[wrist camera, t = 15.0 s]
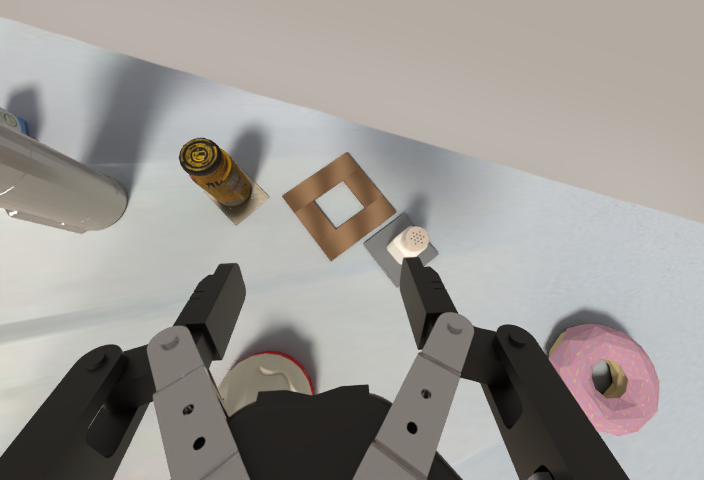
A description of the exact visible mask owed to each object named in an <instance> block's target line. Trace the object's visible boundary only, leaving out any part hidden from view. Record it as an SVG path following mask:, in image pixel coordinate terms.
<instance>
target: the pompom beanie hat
mask: <svg viewBox="0 0 704 480" xmlns="http://www.w3.org/2000/svg"><path fill="white" fill-rule="evenodd" d="M218 390H219V392H220V395H221V397H222V399H223V402H224V404H225V406H226V408H227V410H228V412H229V415H230V416H231V415H232V414H233V413H235V412H236V411H237V410H239V409H240V408H242V407H244V406H246V405H248V404H250V403H252V402H254V401H256V399H257V395H258V392H259V391H275V390H289V391H294V392H298V393H303V394H308V395H313V388H312V384H311V381H310V377H309V376H308V374H307V373H306V371H305V369H304V368H303V366H302V365H301V364H299V363H298V362H297V361H296V360H295V359H294V358H292V357H290V356H288V355H285V354H283V353H280V352H271V351H267V352H262V353H257V354H254V355H252V356H250V357H248V358H246V359H244V360H242V361H241V362H239V363H238V364H237V365H236V366H235V367H234V368H233V369H232V370H231V371H229V372H228V373H227V374H226V376H225V377H224V379H223V380H222V382H221V383H220V385H219V387H218Z"/></svg>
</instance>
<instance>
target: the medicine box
mask: <svg viewBox="0 0 704 480" xmlns="http://www.w3.org/2000/svg"><path fill="white" fill-rule="evenodd" d="M0 122H1V123H3V124H5V125H7V126H9V127H11V128H13V129H15V130H17V131H19V132H21V133H23V134H25V135H27V129H26V123H25V121H24V120H22V119H21V118H19V117H17V116H15V115H13V114H12V113H10V112H8V111H6V110H4V109H3V108H1V107H0ZM27 136H28V135H27Z"/></svg>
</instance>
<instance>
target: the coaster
mask: <svg viewBox="0 0 704 480" xmlns="http://www.w3.org/2000/svg"><path fill="white" fill-rule="evenodd" d="M410 226H412V227H414V226H415V225H414V224H413V223H412V222H411V220H410V219H409V218H408V217H407V216H406V214H405V213H404V214H403V215H401V216H400V217H399V218H397V219H396V220H395V221H393V222H392V223H391V224H389V225H388V226H387V227H385V228H384V229H383V230H381V231H380V232H379V233H377V234H376V235H375V236H373V237H372V238H371V239H369V240H368V241H367V242H365V243H364V244H363V245H364V246H365V248H366V249H367V250H368V252H369V253H370V254H371V255H372V257H373V258H374V259H375V260H376V262H377V263H378V264H379V266H380V267H381V268H382V269H383V271H384V272H385V273H386V275H387V276H388V277H389V278H390V280H391V281H392V282H393V284H394V285H395V286H396V287H399V286H400V275H401V268H402V265H401V264H399V263H398V262H397V261H396V260H395V259H394V257H393V256H392V255H391V254H390V253H389V251H388V250H387V246H388V244H389V243H390V242H391V241H392V240H393V239H394V238H395V237H397V236H398V235H399V234H400V233H401V232H403V231H404V230H405V229H406V228H408V227H410ZM437 255H438V253H437V252H436V251H435V249H434V248H433V247H432V246H431V245H430V243H428V244H427V248H426V249H425V250H423V251H422V252H421V253H420V254H419V255H417V256H416V257H419V258H420V259H421V262H422V264H423V266H425V265H426V264H427V263H428V262H430V261H431V260H432V259H433V258H435V257H436V256H437Z"/></svg>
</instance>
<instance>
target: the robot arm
mask: <svg viewBox="0 0 704 480" xmlns="http://www.w3.org/2000/svg"><path fill="white" fill-rule="evenodd" d="M126 204H127V196H126V192H125V190H124V188H123V187H122V186H121V184H119V183H118V182H117V181H115V180H113V179H111V178H109V177H108V176H106V175H103V174H101V173H99V172H97V171H95V170H94V169H92V168H90V167H88V166H86V165H84V164H82V163H80V162H78V161H76V160H74V159H72V158H70V157H68V156H66V155H64V154H62V153H60V152H58V151H56V150H54V149H52V148H50V147H48V146H46V145H44V144H43V143H41V142H39V141H37V140H35V139H33V138H31V137H29V136H27V135H25V134H23V133H21V132H19V131H17V130H15V129H13V128H11V127H9V126H7V125H5V124H3V123H1V122H0V208H4V209H5V210H6V212H7V214H8V215H9V216H11V217H13V218H17V219H21V220H25V221H29V222H34V223H38V224H42V225H46V226H50V227H55V228H59V229H63V230H67V231H72V232H76V233H80V234H81V233H83V232H85V231H88V230H100V229H104V228H106V227H109V226H110V225H112V224H114V223H115V222H116V221H117V220H118V219H119V218H120V217H121V215H122V214H123V212H124V210H125V208H126ZM400 292H401V295H402V299H403V302H404V305H405V309H406V312H407V315H408V318H409V322H410V325H411V328H412V332H413V335H414V338H415V342H416V345H417V348H418V350H422V352H421V353H420V352H419V353H418V355H417V357H416V359H415V361H414V362H413V364H412V366H411V368H410V370H409V372H408V374H407V376H406V378H405V380H404V382H403V384H402V386H401V388H400V390H399V392H398V394H397V396H396V398H395V400H394V402H393V403H391V402H390V401H388V400H387V399H385V398H383V397H381V396H378V395H375V394H372V393H369V386H368V385H354V386H341V387H338V388H335V389H332V390H329V391H326V392H323V393H320V394H317V395H308V394H303V393H298V392H294V391H289V390H275V391H259V392H258V395H257V399H256V401H254V402H252V403H250V404H248V405H246V406H244V407H242V408H240V409H239V410H237V411H236V412H235V413H233V414H232V415H231V416H230V415H229V412H228V410H227V408H226V406H225V404H224V402H223V399H222V397H221V395H220V392H219V390H218V388H217V386H216V383H215V381H214V379H213V376H212V374H211V372H210V370H209V367H210V364H211V362H212V361H215V360H222V359H223V357H224V354H225V351H226V348H227V346H228V343H229V340H230V338H231V335H232V332H233V330H234V327H235V324H236V322H237V319H238V316H239V314H240V311H241V308H242V305H243V303H244V300H245V296H246V289H245V284H244V281H243V278H242V274H241V271H240V268H239V265H238V264H237V263H228V264H219V266H218V267H217V269H216V271H215V273H214V274H213V275H208V276H207V277H205V278H204V279H203V280H202V281H201V282H199V284H198V286H197V287H196V289H195V290H194V293H193V294H192V295H191V297H190V300H188V302H187V304H186V305H185V307H184V308H183V310H182V312H181V313H180V315H179V317H178V318H177V320H176V322H175V323H174V325H173V326H172V327H169V328H167V329H164V330H163V331H161V332H159V333H158V334H157V335H155V336H154V337H153V338H152V339H151V341H150V342H149V344H147V345H144V346H141V347H138V348H134V349H131V350H128V351H124V352H123V351H122V349H121V348H120V347H119V346H117V345H113V344H110V345H104V346H101V347H98V348H96V349H93V350H92V351H90V352H88V353H87V354H85V355H84V356H82V357H81V358H80V359H79V360H78V361H77V362H76V363H75V364H74V365H73V367H72V368H71V369H70V370H69V372H68V373H67V374H66V375H65V377H64V378H63V379H62V380H61V382H60V383H59V384H58V386H57V387H56V388H55V389H54V391H53V392H52V393H51V394H50V396H49V397H48V398H47V399H46V401H45V402H44V403H43V404H42V406H41V407H40V408H39V409H38V411H37V412H36V413H35V414H34V416H33V417H32V418H31V419H30V421H29V422H28V423H27V424H26V426H25V427H24V428H23V429H22V431H21V432H20V433H19V435H18V436H17V437H16V438H15V440H14V441H13V442H12V443H11V445H10V446H9V447H8V448H7V450H6V451H5V452H4V453H3V455H2V456H1V457H0V480H113V478H114V476H115V474H116V472H117V470H118V468H119V465H120V463H121V461H122V459H123V457H124V455H125V453H126V451H127V449H128V447H129V445H130V443H131V441H132V438H133V436H134V434H135V432H136V430H137V428H138V426H139V424H140V422H141V420H142V418H143V416H144V414H145V411H146V409H147V407H148V405H149V403H150V402H153V401H154V406H155V410H156V414H157V419H158V423H159V428H160V432H161V436H162V441H163V445H164V450H165V454H166V458H167V463H168V467H169V471H170V476H171V480H463V479H462V478H461V477H460V476H459V475H458V474H457V473H456V472H455V471H454V469H453V468H452V467H451V466H450V465H449V464H448V463H447V462H446V461H445V459H444V458H443V457H442V456H441V455H440V454H439V453H438V452H437V451H436V449H437V446H438V443H439V440H440V437H441V434H442V431H443V428H444V425H445V422H446V419H447V416H448V413H449V410H450V407H451V404H452V401H453V398H454V395H455V391H456V388H457V385H458V382H459V379H460V378H464V379H468V380H472V381H476V382H479V383H480V384H481V386H482V389H483V391H484V393H485V396H486V398H487V401H488V403H489V406H490V408H491V411H492V413H493V416H494V418H495V421H496V423H497V425H498V428H499V430H500V433H501V435H502V438H503V440H504V443H505V445H506V448H507V450H508V452H509V455H510V457H511V460H512V462H513V465H514V467H515V470H516V472H517V475H518V477H519V480H630V479H629V478H628V476H627V475H626V474H625V472H624V471H623V469H622V468H621V466H620V465H619V463H618V462H617V460H616V459H615V457H614V456H613V454H612V453H611V451H610V450H609V448H608V447H607V445H606V444H605V442H604V441H603V439H602V438H601V436H600V435H599V433H598V432H597V430H596V429H595V427H594V426H593V424H592V423H591V421H590V420H589V419H588V417H587V416H586V414H585V413H584V411H583V410H582V408H581V407H580V405H579V404H578V402H577V401H576V399H575V398H574V396H573V395H572V393H571V392H570V390H569V389H568V387H567V386H566V384H565V383H564V381H563V380H562V378H561V377H560V375H559V374H558V372H557V371H556V369H555V368H554V366H553V365H552V363H551V362H550V361H549V359H548V358H547V356H546V355H545V353H544V352H543V350H542V349H541V347H540V346H539V344H538V343H537V341H536V340H535V338H534V337H533V336H532V335H531V334H530V333H529V332H527V331H526V330H524V329H522V328H520V327H518V326H515V325H508V324H507V325H502V326H500V327H499V328H498V329H497V332H495V331H491V330H486V329H481V328H478V327H475V326H473V325H472V324H471V322H470V321H469V320H468V319H467V318H465V317H464V316H462V315H460V314H458V312H457V310H456V308H455V306H454V304H453V302H452V300H451V298H450V296H449V294H448V292H447V290H446V289H445V287H444V285H443V283H442V281H441V279H440V277H439V275H438V273H437V272H436V271H435V270H433V269H432V268H431V267H424V266H423V264H422V262H421V259H420V258H419V257H404V258H403V261H402V268H401V275H400ZM101 406H102V407H101ZM100 408H101V409H100ZM99 410H100V411H99ZM98 411H99V412H98ZM97 413H98V414H97ZM96 415H97V416H96ZM95 416H96V417H95ZM94 418H95V419H94ZM93 419H94V420H93ZM92 421H93V422H92ZM91 423H92V424H91ZM90 424H91V425H90ZM89 426H90V427H89ZM88 428H89V429H88Z"/></svg>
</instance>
